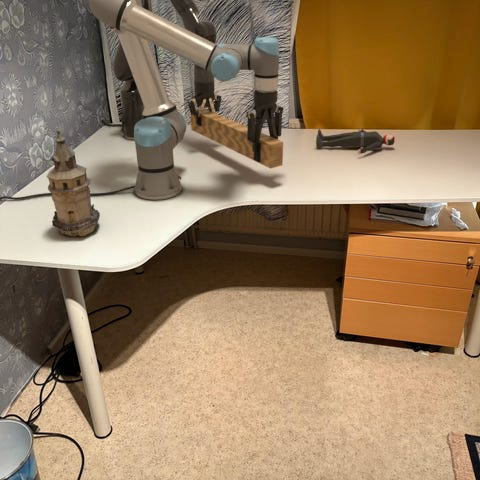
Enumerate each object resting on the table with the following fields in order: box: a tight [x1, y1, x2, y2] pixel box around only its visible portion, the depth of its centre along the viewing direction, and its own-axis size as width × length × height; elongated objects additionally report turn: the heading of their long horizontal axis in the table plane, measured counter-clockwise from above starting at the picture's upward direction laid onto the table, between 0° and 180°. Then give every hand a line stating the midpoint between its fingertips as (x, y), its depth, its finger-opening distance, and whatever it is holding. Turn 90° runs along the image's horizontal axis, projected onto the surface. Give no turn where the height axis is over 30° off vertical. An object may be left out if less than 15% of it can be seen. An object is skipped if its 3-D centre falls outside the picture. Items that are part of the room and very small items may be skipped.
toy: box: [315, 128, 396, 155], centre depth 211 cm, size 26×6×30 cm
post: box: [190, 108, 284, 169], centre depth 192 cm, size 51×5×8 cm, turn 35°
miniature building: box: [46, 129, 101, 237], centre depth 148 cm, size 13×14×30 cm
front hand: (263, 159), depth 181 cm, fingers closed on post, 5 cm apart
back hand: (205, 124), depth 206 cm, fingers closed on post, 5 cm apart
